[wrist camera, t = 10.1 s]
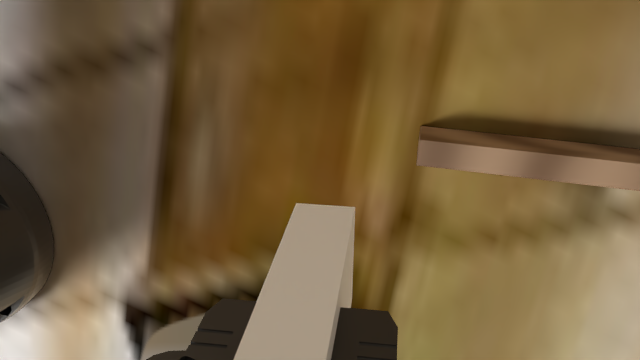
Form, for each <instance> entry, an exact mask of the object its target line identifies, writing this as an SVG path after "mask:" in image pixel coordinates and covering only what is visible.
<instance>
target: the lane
mask: <svg viewBox="0 0 640 360" xmlns="http://www.w3.org/2000/svg"><path fill="white" fill-rule="evenodd" d="M417 165H419V166H428V167H436V168H445V169H454V170H462V171H471V172H480V173H488V174H497V175H506V176H515V177H523V178H532V179H541V180H549V181H558V182H567V183H575V184H584V185H593V186H602V187H610V188H619V189H628V190H636V191H640V149H634V148H625V147H616V146H606V145H597V144H587V143H578V142H569V141H559V140H550V139H540V138H531V137H521V136H512V135H503V134H493V133H484V132H474V131H465V130H456V129H446V128H437V127H427V126H421V128H420V136H419V144H418V152H417Z"/></svg>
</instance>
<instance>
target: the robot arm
mask: <svg viewBox="0 0 640 360" xmlns="http://www.w3.org/2000/svg"><path fill="white" fill-rule="evenodd" d="M354 226H355V207H345V206H331V205H316V204H301V203H296V205H295V207H294V210H293V212H292V215H291V217H290V220H289V222H288V225H287V227H286V230H285V232H284V235H283V237H282V240H281V242H280V245H279V247H278V250H277V252H276V255H275V257H274V260H273V262H272V265H271V267H270V270H269V272H268V275H267V277H266V280H265V282H264V285H263V287H262V290H261V292H260V295H259V297H258V300H257V302H255V301H244V300H232V299H222V300H221V301H219V302H218V303H217V304H216V305H214V306H213V307H212V308H211V309H209V310H208V311H207V312H206V313H205V315H204V317H203V319H202V321H201V323H200V325H199V327H198V331H197V332H196V333H195V335H194V337H193V339H192V340H191V345H189V346H188V348H187V350H186V351H168V352H164V353H160V354H157V355H153V356H152V357H150V358H149V359H146V360H397V332H398V327H397V326H396V324H395V322H394V321H393V319H392V317H391V315H390V314H389V312H388V311H378V310H367V309H355V308H351V302H352V283H353V254H354ZM53 254H54V244H53V236H52V230H51V226H50V222H49V219H48V216H47V214H46V211H45V209H44V207H43V205H42V202H41V201H40V199H39V197H38V195H37V194H36V192H35V190H34V189H33V187H32V186H31V184H30V183H29V182H28V180H27V179H26V178H25V177H24V175H23V174H22V173H21V172H20V171H19V170H18V169H17V168H16V167H15V166H14V165H13V164H12V163H11V162H10V161H9V160H8V159H7V158H6V157H5V156H4V155H2V154H1V153H0V322H3V321H5V320H6V319H8V318H10V317H11V316H13V315H14V314H16V313H17V312H18V311H19V310H20V309H21V308H23V307H24V306H25V305H26V304H27V303H28V302H29V301H30V300H31V299H32V298H33V297H34V296H35V295H36V294H37V293H38V292H39V291H40V290H41V289H42V287H43V286H44V284H45V282H46V281H47V279H48V276H49V274H50V271H51V267H52V263H53Z"/></svg>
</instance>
